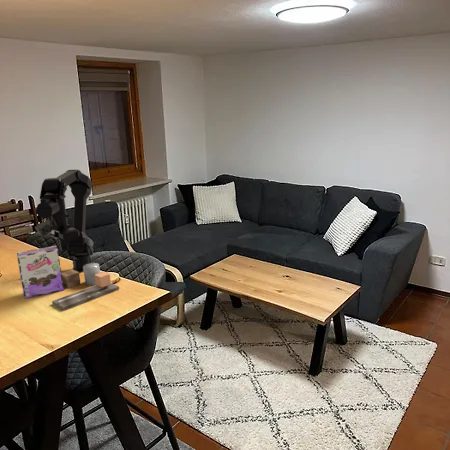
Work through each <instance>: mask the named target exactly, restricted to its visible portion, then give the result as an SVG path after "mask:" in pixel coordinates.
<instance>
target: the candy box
mask: <svg viewBox="0 0 450 450" xmlns="http://www.w3.org/2000/svg"><path fill="white" fill-rule="evenodd" d="M59 253H60V252H59V250H58V245H52V246H48V247H47V246H46V247H41V248H36V249H35V248H33V249H30V250H22V251H16V255H17V256H16V257H17V262H18V263H17V264H18V270H19V271H18V272H19V277H20V282H21V288H22V292H23V293H22V294H23V298H24V299H28V298H29V299H30V298H32V297H38V296H42V295H47V294H52V293H56V292H57V293H58V292H61V291H64V290H65V289H64V286H63V281H62V274H61V273H62V268H61V263H60V262H61V261H60V255H59Z"/></svg>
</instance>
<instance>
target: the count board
mask: <svg viewBox="0 0 450 450" xmlns="http://www.w3.org/2000/svg"><path fill="white" fill-rule="evenodd" d="M119 290H120V286H119V285H117V284H115V283H113V281H111V284H110V285H107V286H104V287H102V288H101V287H99V286H97V285H92V286H90V287H87V288H84V289H82V290H79V291H76V292H73V293H71V294H69V295H67V294H66V295H65V296H63V297H60V298H57V299H55V300H52V301H51V302H52V305H53V306H55V307H57V308H58V309H60V310H62V311H66V310H67V311H68V310H70V309H73V308H74V307H77V306H79V305H82V304H85V303H88V302H90V301H92V300H95V299H98V298H101V297H103V296H106V295H108V294H111V293H114V292H116V291H119Z"/></svg>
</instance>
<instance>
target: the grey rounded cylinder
mask: <svg viewBox="0 0 450 450" xmlns="http://www.w3.org/2000/svg"><path fill="white" fill-rule="evenodd" d="M82 272H83V277H84V284H85V286H90V287H92V286H95V285H96V284H95V276H94V275H95V274H98V273H101V269H100V264H99V263H98V262H91V263H89V264H86V265H84V266H83V271H82Z"/></svg>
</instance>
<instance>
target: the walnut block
mask: <svg viewBox="0 0 450 450" xmlns="http://www.w3.org/2000/svg"><path fill="white" fill-rule="evenodd" d="M61 274H62V281H63V287H65V288H67V289H71V288H73V287H77V286H79V285H81V283H82V282H81V278H80V277H81V276H80V272H79V271H76V270H74V269H73V268H72V269H70V270H67V271H63V272H61Z"/></svg>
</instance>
